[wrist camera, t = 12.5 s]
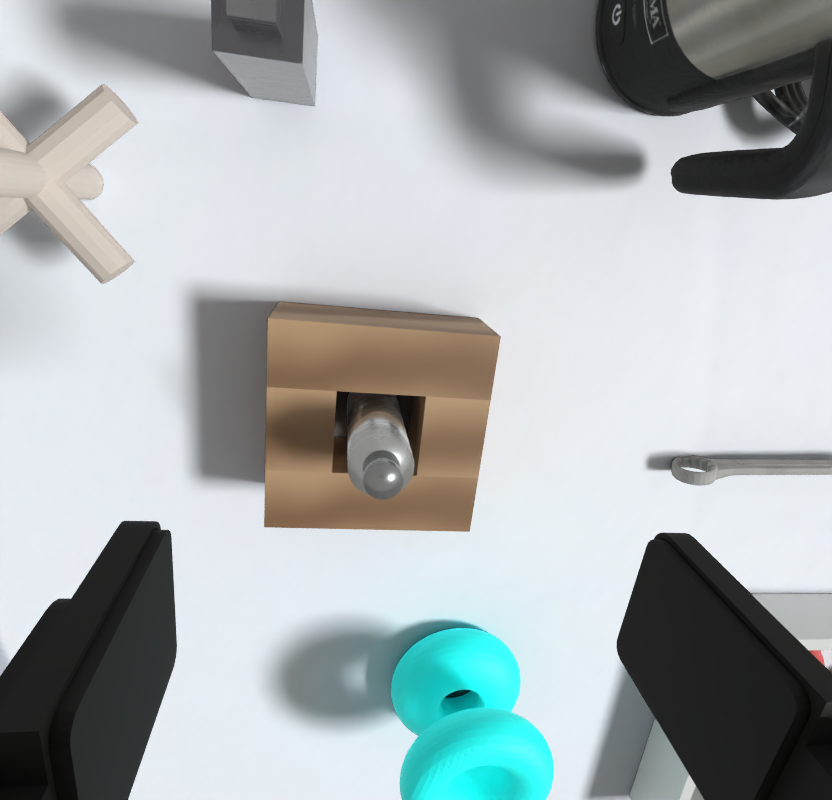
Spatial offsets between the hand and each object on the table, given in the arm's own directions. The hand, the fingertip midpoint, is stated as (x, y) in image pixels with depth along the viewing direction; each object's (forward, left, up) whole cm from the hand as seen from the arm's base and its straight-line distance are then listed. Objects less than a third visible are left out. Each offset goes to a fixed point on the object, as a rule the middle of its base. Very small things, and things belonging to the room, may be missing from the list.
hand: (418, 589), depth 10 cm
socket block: (+5, +1, -24) cm, 24 cm away
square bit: (-13, -5, -24) cm, 28 cm away
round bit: (+5, +1, -24) cm, 24 cm away
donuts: (+27, +9, -24) cm, 37 cm away
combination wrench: (+7, +32, -24) cm, 41 cm away
